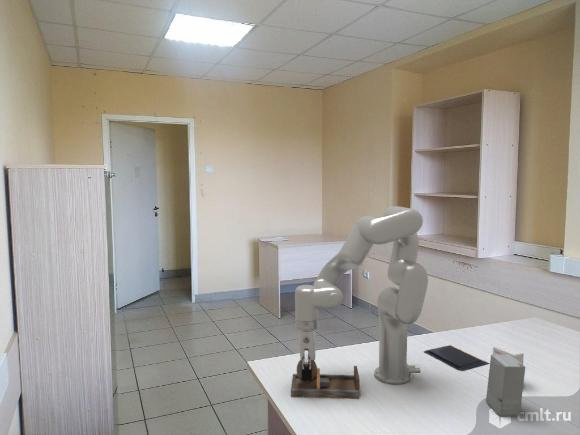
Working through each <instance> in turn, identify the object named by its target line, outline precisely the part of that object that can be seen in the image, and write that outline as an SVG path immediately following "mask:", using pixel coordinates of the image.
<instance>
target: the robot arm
mask: <svg viewBox="0 0 580 435" xmlns="http://www.w3.org/2000/svg"><path fill="white" fill-rule="evenodd" d="M423 223H424V220H423V216H422V214H421V213H420V211H419V210H416V208H410V207H404V206H399V205H398V206H397V205H394V206H390V207H389V206H388V208H386V209H385V211H384V212H383V216H382V217H375V216H372V215H364V216H362V217H360V218H359V219H358V220H357V222H356V223H355V225H354V226H353V228H352V230H351V231H350V233H349V235H348V237H347V238H346V240H345V241H344V243H343V244H342V246H341V249H339V251H338V252H337V253H336V254H335V255H334V256H333V257H332V258H330V260H329V261H328V262H326V264H325V265H324V266H323V268H322V269H321V271H320V272H319V274H318V275H317V277H316V279H315V280H314V282H313V285H311V284H302V285H299V286H297V287H296V288H295V290H294V310H295V311H294V312H295V313H294V314H295V315H294V317H295V318H294V320H295V322H294V323H295V326H294V327H295V329H296V330H297V331H298V339H299V340H298V344H299V346H298V347H299V357H300V359H301V360H302V381H311V380H312V368H311V360H313V361H315V360H316V331H317V329H319V309H324V310H335V309H337V308H339V307H340V306H341V305H342V304H343V302H344V295H343V292H342V291H341V289H339V288H338V287H337V286H336V285H337V284H338V282H339V281H340V279H341V278H342V277H343V276H344V275H345V274H346V273H347V272H350V271H351V270H354V269H357V268H359V267H361V266H362V265H363V263H364V261H365V259H366V258H367V256H368V255H369V253H370V251H371V249H372V247H374V245H384V244H389V243H392V242H393V244H392V249H391V250H392V251H391V255H390V258H389V263H388V268H387V273H386V274H387V278H388V280H389V281H390V282H391V283H392V284H395V285H396V286H397V287H399V288H397V287H391V286H390V287H389V286H388V287H385V288H384V289H382V290H381V291H380V292H379V294H378V296H377V301H376V302H377V304H376V305H377V312H378V321H379V323H378V324H379V327H378V328H379V329H378V330H379V332H378V333H379V334H378V345H379V346H378V367H376V368H375V369H374V372H373V374H374V377H375V378H376V379H377V380H378V381H380V382H382V383H386V384H391V385H403V384H407V383H408V382H410V380H411V379H412V374H421V372H422V371H421V370H422V369H421V367H416V365H415V364H414V365H413V364H411V365H409V364H408V362H407V361H408V325H412V324H414V323H416V321H417V320H418V319H419V318H420V317H421V313H422V310H423V307H424V302H425V297H426V294H427V289H428V284H429V283H428V282H429V274H428V272H427V269H426V268H425V267H424V266H423V265H421V264H420V263H418V262H417V259H418V254H419V253H418V252H419V246H420V244H419V243H420V242H419V236H418V232H419V231H420V230H421V228H422V226H423ZM308 357H310V359H308ZM308 361H309V363H308Z"/></svg>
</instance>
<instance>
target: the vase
mask: <svg viewBox="0 0 580 435" xmlns="http://www.w3.org/2000/svg"><path fill="white" fill-rule="evenodd" d="M308 359H310V357H308ZM308 363H309V361H308ZM317 365H318V364H317V363H316V361H315V360H314V361H313V360H311V368H312V380H311V381H302V360H301V359H300V360H299V361H298V362H297V365H296V374H297V376H298V378H299V379H300V380H301V381H302V382H304V383H311V382H312V381H314V379H315V378H316V376H317V368H318V366H317Z"/></svg>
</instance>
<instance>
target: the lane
mask: <svg viewBox="0 0 580 435" xmlns="http://www.w3.org/2000/svg"><path fill="white" fill-rule="evenodd" d="M320 378H329V387H320V389H317V376H316V378H315V379H314V381H312V382H311V383H304V382H302V381H301V380H300V379H299V378H298V376H297V373H292V378H291V379H292V380H291V386H290V398H315V399H317V398H318V399H320V398H321V399H348V400H349V399H355V400H356V399H359V400H360V399H361V397H360V396H361V395H360V393H361V392H360V374H359V369H358V365H353V374H328V373H327V374H326V373H325V374H323V373H320Z"/></svg>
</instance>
